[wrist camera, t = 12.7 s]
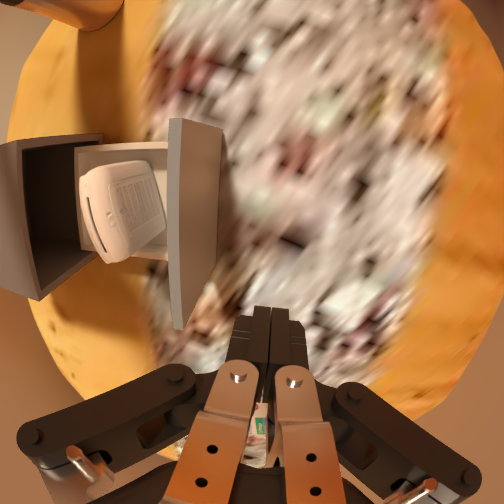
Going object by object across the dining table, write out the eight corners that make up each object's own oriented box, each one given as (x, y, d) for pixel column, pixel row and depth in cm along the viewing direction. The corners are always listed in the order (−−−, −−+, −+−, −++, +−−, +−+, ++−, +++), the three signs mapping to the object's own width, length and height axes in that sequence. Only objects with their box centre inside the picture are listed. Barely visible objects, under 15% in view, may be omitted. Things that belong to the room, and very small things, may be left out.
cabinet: (26, 146, 34) (-45, 161, 18) (103, 133, 33) (16, 140, 17) (33, 238, 41) (-28, 275, 25) (107, 248, 40) (39, 301, 24)
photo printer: (123, 164, 33) (63, 178, 21) (150, 154, 32) (94, 163, 20) (143, 236, 36) (94, 275, 25) (171, 230, 35) (126, 270, 24)
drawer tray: (94, 134, 33) (16, 141, 18) (222, 129, 32) (182, 118, 17) (99, 248, 40) (37, 295, 25) (216, 262, 39) (183, 330, 24)
